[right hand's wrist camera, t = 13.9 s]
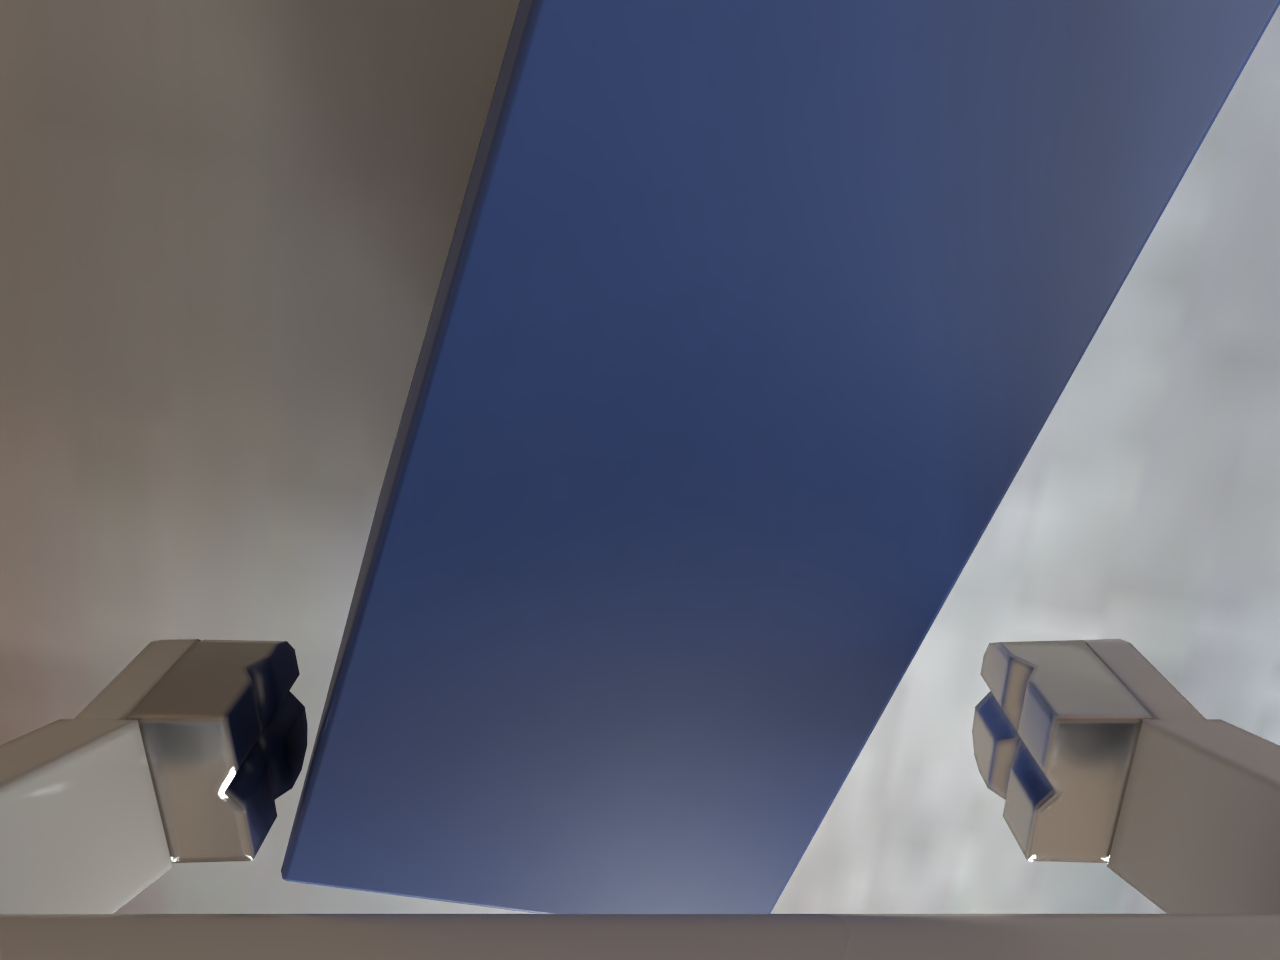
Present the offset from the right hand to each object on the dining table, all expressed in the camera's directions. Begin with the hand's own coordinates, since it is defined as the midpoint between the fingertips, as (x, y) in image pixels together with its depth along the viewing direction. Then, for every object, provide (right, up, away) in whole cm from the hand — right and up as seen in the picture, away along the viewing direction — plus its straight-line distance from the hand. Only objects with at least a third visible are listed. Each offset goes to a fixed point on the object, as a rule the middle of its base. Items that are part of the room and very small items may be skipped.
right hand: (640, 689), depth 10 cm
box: (+2, +13, +5) cm, 14 cm away
